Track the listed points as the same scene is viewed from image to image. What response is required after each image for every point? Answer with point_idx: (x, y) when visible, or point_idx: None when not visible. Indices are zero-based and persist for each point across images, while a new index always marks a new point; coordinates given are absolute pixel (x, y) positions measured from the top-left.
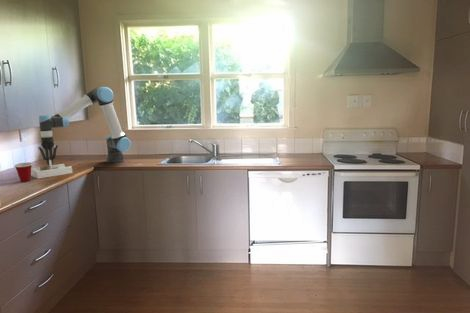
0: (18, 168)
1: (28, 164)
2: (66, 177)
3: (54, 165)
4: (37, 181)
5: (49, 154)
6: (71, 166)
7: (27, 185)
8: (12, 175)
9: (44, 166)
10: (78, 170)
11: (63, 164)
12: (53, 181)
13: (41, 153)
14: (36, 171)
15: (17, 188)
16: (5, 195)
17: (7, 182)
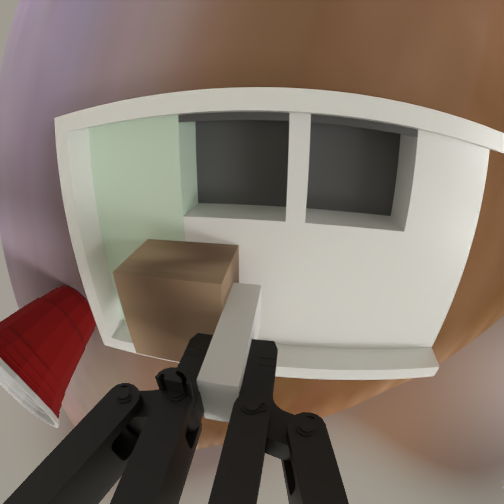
0: (11, 379)
1: (23, 371)
2: (295, 414)
3: (388, 122)
4: (133, 371)
5: (211, 493)
6: (430, 375)
7: (99, 390)
8: (34, 23)
9: (162, 332)
10: (496, 276)
11: (497, 151)
12: (205, 425)
13: (49, 473)
14: (103, 338)
15: (75, 392)
16: (69, 416)
17: (10, 252)
